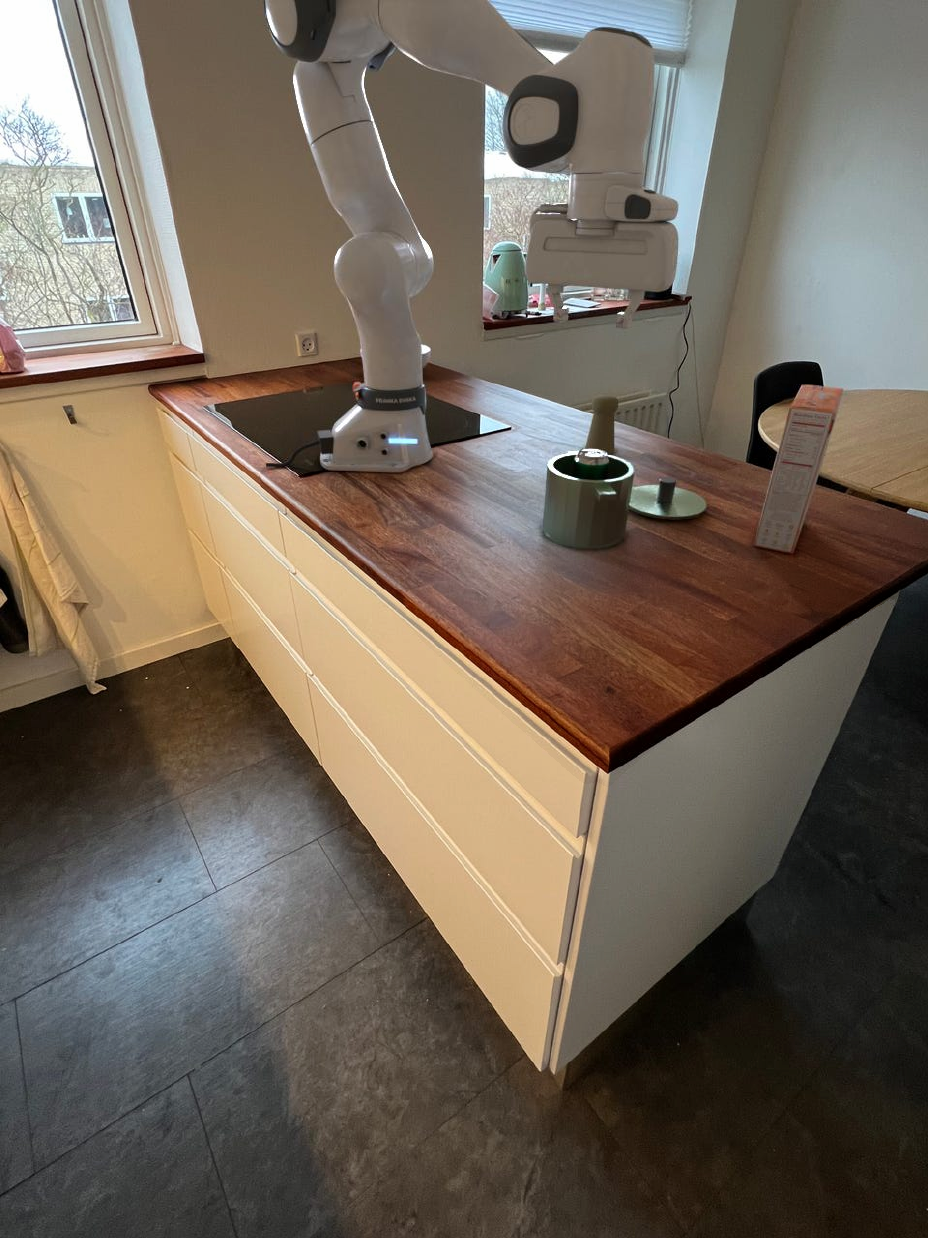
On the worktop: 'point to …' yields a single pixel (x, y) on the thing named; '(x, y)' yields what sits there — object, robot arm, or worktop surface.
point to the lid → (666, 501)
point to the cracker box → (797, 466)
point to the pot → (586, 504)
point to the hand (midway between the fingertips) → (591, 324)
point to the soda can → (591, 464)
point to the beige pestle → (602, 423)
